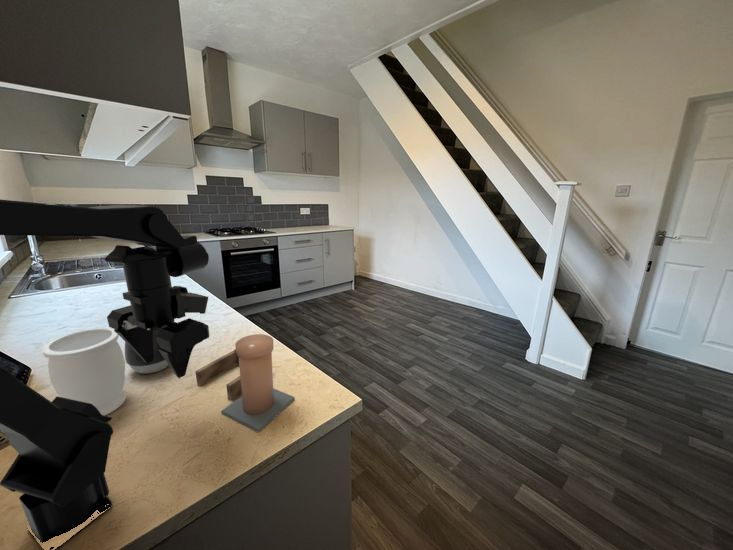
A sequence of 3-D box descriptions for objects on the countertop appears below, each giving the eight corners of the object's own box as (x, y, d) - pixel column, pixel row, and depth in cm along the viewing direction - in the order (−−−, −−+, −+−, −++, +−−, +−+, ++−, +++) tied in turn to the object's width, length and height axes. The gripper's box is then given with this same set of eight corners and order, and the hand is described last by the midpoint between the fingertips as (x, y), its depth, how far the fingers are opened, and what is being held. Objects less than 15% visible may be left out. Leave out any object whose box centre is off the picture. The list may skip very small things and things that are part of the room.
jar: (63, 405, 58) (43, 338, 54) (128, 383, 65) (115, 322, 61) (62, 436, 51) (38, 361, 47) (136, 408, 58) (121, 340, 54)
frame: (231, 400, 61) (229, 386, 60) (197, 384, 65) (195, 371, 64) (269, 373, 70) (268, 360, 69) (237, 361, 75) (236, 349, 74)
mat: (259, 432, 53) (258, 429, 53) (221, 413, 57) (221, 410, 57) (294, 399, 62) (294, 396, 61) (259, 385, 66) (259, 382, 66)
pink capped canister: (249, 421, 54) (244, 355, 51) (234, 403, 59) (229, 341, 55) (282, 404, 59) (279, 343, 55) (266, 388, 64) (263, 331, 60)
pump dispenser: (146, 356, 76) (135, 302, 72) (187, 355, 77) (179, 302, 73) (116, 380, 66) (102, 319, 62) (164, 379, 67) (153, 319, 63)
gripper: (232, 281, 50) (240, 360, 54) (166, 267, 57) (178, 337, 62) (164, 301, 40) (181, 396, 44) (96, 280, 48) (116, 363, 52)
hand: (165, 368), depth 51 cm, fingers open, 9 cm apart
